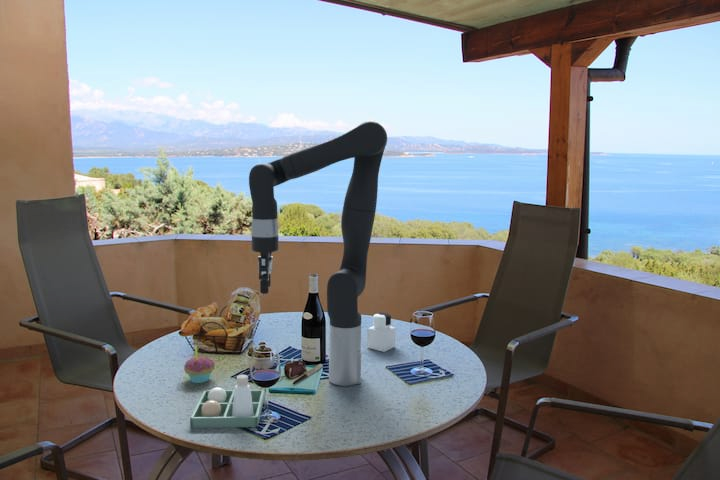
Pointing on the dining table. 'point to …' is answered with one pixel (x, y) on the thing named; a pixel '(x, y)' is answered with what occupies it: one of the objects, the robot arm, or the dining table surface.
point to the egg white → (217, 395)
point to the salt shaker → (242, 398)
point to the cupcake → (199, 368)
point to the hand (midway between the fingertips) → (265, 289)
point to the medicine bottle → (381, 333)
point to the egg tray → (228, 412)
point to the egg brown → (211, 409)
